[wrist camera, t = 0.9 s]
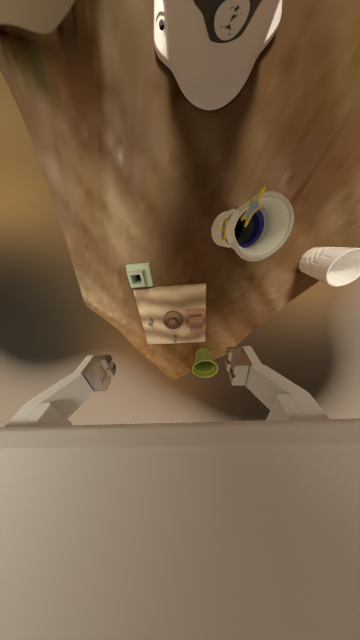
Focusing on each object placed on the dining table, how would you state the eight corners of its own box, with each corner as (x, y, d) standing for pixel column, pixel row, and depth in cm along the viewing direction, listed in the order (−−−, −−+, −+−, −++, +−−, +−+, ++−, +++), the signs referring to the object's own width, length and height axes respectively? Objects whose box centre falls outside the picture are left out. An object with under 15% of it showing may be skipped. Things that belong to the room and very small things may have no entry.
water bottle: (208, 250, 38) (240, 273, 17) (210, 210, 33) (259, 172, 12) (239, 249, 37) (311, 271, 16) (246, 208, 33) (359, 166, 12)
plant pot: (195, 362, 61) (196, 380, 54) (187, 347, 57) (188, 364, 49) (216, 356, 59) (220, 374, 52) (210, 340, 55) (214, 357, 47)
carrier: (134, 288, 44) (127, 297, 38) (205, 283, 43) (208, 291, 37) (148, 342, 56) (144, 355, 50) (204, 339, 54) (207, 352, 48)
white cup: (332, 260, 38) (374, 268, 30) (302, 280, 42) (332, 293, 33) (322, 237, 36) (365, 238, 27) (290, 260, 39) (321, 268, 30)
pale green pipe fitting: (127, 264, 40) (120, 268, 36) (149, 262, 40) (145, 266, 35) (133, 286, 43) (128, 292, 39) (153, 284, 43) (150, 290, 39)
